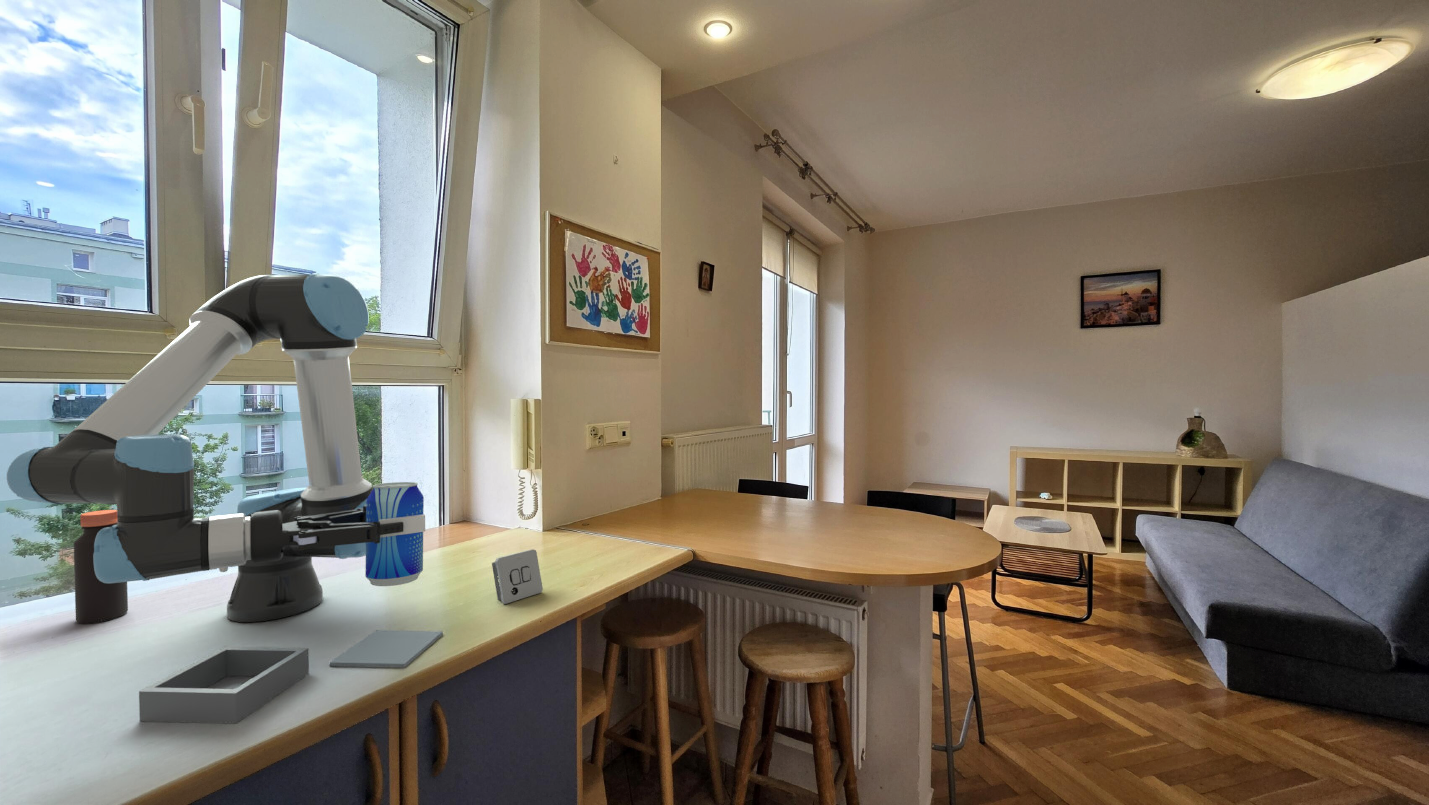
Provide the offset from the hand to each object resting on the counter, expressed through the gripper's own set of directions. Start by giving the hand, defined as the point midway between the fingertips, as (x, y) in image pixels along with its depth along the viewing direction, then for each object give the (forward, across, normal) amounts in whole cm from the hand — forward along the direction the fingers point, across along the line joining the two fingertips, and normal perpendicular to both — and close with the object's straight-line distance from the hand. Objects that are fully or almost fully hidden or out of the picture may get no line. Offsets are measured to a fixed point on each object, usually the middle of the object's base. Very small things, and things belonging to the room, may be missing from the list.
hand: (418, 517), depth 99 cm
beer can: (-4, 0, -10) cm, 11 cm away
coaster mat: (-5, 0, -22) cm, 22 cm away
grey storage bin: (-25, +2, -22) cm, 33 cm away
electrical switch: (+21, -12, -22) cm, 32 cm away
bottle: (-45, -48, -22) cm, 70 cm away
